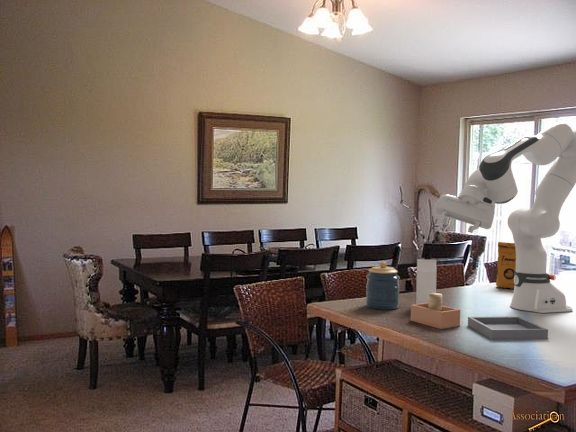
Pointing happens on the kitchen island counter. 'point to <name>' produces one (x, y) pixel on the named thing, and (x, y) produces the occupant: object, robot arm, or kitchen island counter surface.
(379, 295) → the canister
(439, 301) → the birch peg
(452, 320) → the terracotta planter box
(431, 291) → the milk carton
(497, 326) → the charcoal tray
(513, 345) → the kitchen island counter surface
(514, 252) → the coffee package
